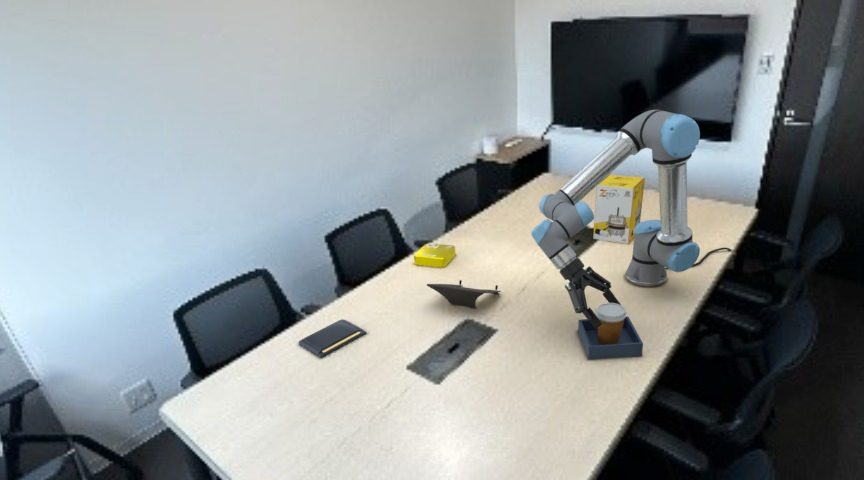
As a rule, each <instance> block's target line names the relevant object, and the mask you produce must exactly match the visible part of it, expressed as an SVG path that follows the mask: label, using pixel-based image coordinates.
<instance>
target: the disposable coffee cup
mask: <svg viewBox="0 0 864 480" xmlns="http://www.w3.org/2000/svg"><path fill="white" fill-rule="evenodd" d="M594 313H595V315H596V316H597V317H598V319H599V320H600V321H601V323H602V325H601V326H599V327H598V341H599V343H600V344H601V345H608V344H618V342H619V338H620V334H621V330H622V326H623V323H624V319H625V317H626V316H627V315H628V313H627V310H626V308H625V306H623V305H622V304H621V305H619V304H616V303H609V302H605V303H602V304H599V305H598V306H597V308H596V309H595V311H594Z"/></svg>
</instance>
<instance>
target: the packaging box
mask: <svg viewBox="0 0 864 480" xmlns="http://www.w3.org/2000/svg"><path fill="white" fill-rule="evenodd" d="M645 182H646V177H641V176H630V175H629V176H628V175H619V174H609V175H608V176H607V177H606V178H605V179H604V180H603V181H601V182H600V183H599V184H598V185H597V186H596V187H595V204H594V219H593V221H594V222H593V233H592V234H593V235H592V240H597V241H605V242H610V243H611V242H612V243H618V244H623V245H624V244H625V245H629V244H630V243H631V241H632V240H634V235H635V234H634V233H635V229H636V226H637V224H638V223H640V222H641V218H642V209H643V200H644V191H645Z"/></svg>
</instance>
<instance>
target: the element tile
mask: <svg viewBox="0 0 864 480" xmlns="http://www.w3.org/2000/svg"><path fill="white" fill-rule="evenodd" d="M456 255H457V254H456V246H455V245H450V244H441V243H426V244H424V245H423V246H422V247H420V249H419V250H417V251H416V252H415V253H414V254H413V261H414V264H415V265H416V266H420V267H421V266H422V267H423V266H424V267H432V268H445V267H447V266H448V264H450V262H451V261H452V260H453V259H454V258H455V256H456Z"/></svg>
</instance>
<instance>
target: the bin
mask: <svg viewBox="0 0 864 480" xmlns="http://www.w3.org/2000/svg"><path fill="white" fill-rule="evenodd" d="M577 321H578V323H577V333H578V336H579V338H580V341H581V344H582V346H583V350H584V352H585V355H586V357H587V360H588V361H589V360H606V359H618V358H635V357H636V358H637V357H642V356H643V349H644V343H643V341H642V339H641V337H640V335H639V333H638V332H637V329H636V328H635V326H634V324H633V322H632V320H631V319H630V317H629V316H627V315H626V317H625V319H624V323H623V326H622V330H621V334H620V338H619V342H618V344H608V345H601V344H600V343H599V341H598V327H597V328H596V329H595V327H594V326H593V325H592V324H591V322H590V321H589V320H588V319H587V318H584V319H578V320H577Z"/></svg>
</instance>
